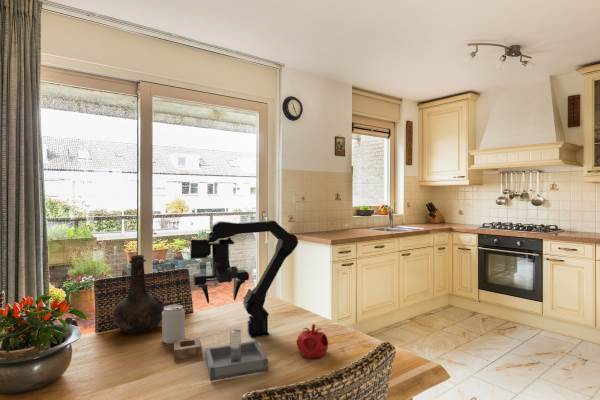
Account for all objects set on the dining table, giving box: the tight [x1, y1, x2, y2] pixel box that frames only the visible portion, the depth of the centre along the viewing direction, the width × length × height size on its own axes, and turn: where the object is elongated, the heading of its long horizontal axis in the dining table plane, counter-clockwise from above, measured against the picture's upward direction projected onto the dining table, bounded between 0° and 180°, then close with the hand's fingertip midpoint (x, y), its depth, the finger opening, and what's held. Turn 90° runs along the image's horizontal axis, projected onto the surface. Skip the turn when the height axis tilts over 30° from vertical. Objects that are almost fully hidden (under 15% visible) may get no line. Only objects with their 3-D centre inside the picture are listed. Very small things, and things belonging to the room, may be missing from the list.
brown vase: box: [112, 254, 165, 334], centre depth 139 cm, size 18×18×28 cm
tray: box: [205, 340, 269, 382], centre depth 109 cm, size 16×14×4 cm
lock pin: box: [229, 329, 242, 363], centre depth 109 cm, size 3×3×9 cm
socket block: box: [173, 336, 203, 361], centre depth 117 cm, size 8×8×4 cm
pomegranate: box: [295, 323, 329, 359], centre depth 116 cm, size 10×10×9 cm
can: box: [161, 304, 186, 345], centre depth 128 cm, size 8×8×12 cm
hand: (221, 301), depth 129 cm, fingers open, 9 cm apart
